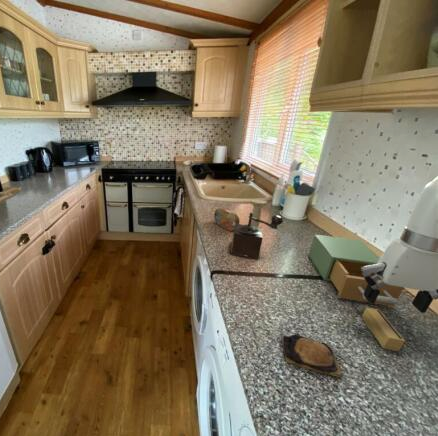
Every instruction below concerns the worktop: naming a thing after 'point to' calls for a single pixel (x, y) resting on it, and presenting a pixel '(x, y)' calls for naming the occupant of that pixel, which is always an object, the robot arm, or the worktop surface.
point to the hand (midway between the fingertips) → (392, 304)
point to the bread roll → (310, 355)
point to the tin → (226, 218)
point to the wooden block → (382, 329)
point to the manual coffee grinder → (250, 237)
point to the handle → (257, 211)
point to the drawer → (359, 283)
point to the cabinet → (338, 253)
